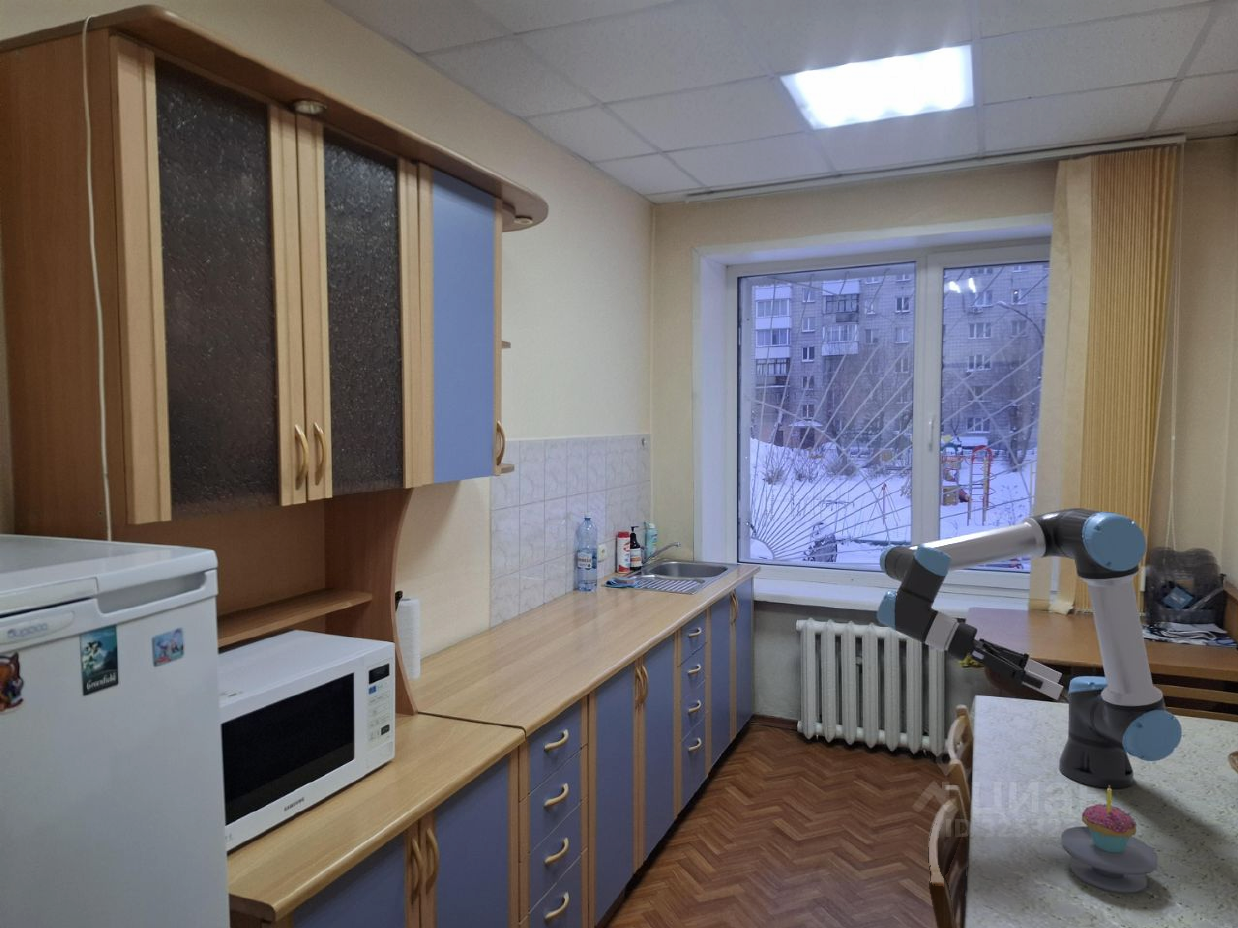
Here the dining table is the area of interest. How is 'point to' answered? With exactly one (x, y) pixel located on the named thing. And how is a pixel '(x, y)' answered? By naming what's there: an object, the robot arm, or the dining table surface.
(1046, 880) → the dining table surface
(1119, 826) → the cupcake
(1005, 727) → the dining table surface
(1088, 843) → the cake stand
